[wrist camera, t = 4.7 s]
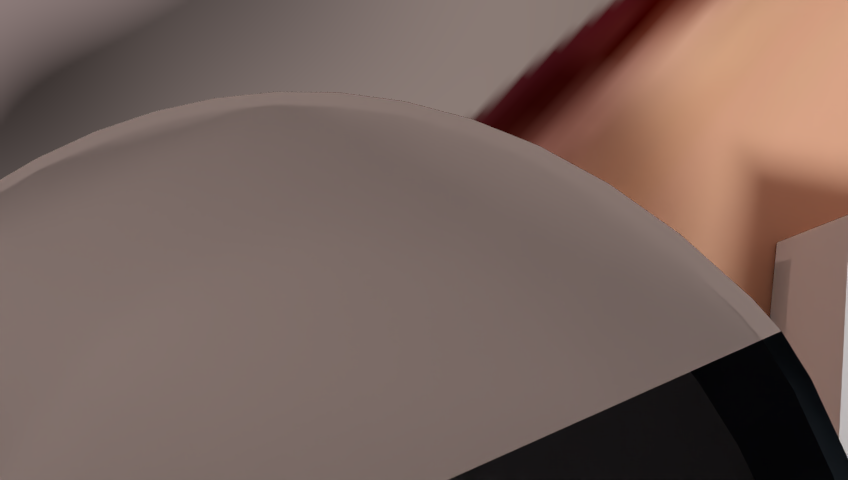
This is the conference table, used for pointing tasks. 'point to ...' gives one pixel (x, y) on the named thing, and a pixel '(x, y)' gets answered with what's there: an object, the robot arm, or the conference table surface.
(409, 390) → the canister
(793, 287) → the tray
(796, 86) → the conference table surface
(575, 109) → the conference table surface
